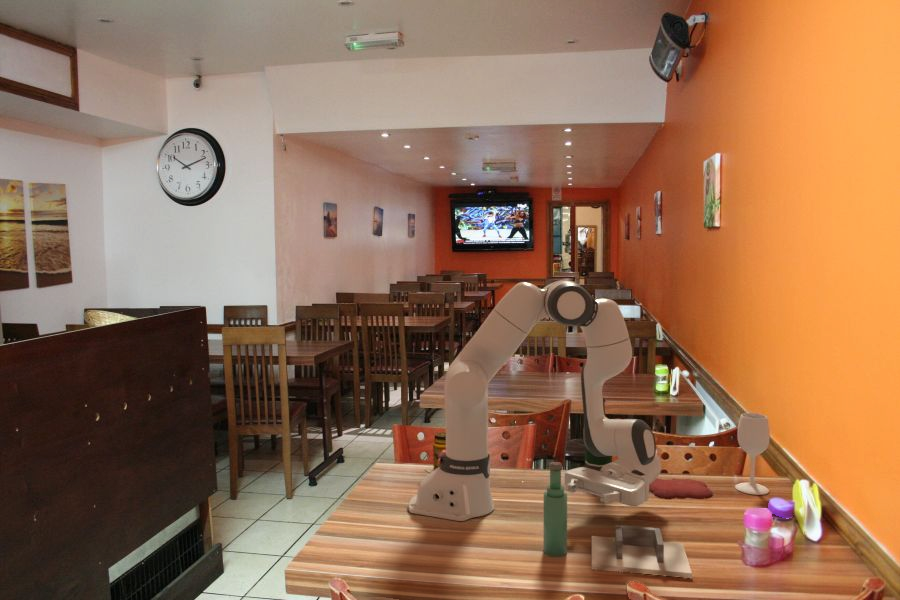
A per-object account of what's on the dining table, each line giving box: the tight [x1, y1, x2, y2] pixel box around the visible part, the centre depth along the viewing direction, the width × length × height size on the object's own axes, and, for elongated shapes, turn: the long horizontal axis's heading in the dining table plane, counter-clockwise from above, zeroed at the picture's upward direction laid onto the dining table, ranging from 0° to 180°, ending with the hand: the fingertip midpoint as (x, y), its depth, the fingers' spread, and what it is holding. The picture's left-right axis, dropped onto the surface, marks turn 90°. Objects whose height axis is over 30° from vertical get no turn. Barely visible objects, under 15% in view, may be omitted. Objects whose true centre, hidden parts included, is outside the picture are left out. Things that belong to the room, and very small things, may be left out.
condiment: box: [424, 432, 446, 474], centre depth 199 cm, size 7×8×12 cm
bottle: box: [542, 461, 568, 558], centre depth 145 cm, size 5×5×20 cm
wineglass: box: [734, 412, 771, 496], centre depth 182 cm, size 9×9×21 cm
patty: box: [649, 478, 714, 500], centre depth 183 cm, size 18×14×2 cm
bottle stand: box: [591, 524, 693, 580], centre depth 142 cm, size 20×14×5 cm
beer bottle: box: [584, 397, 613, 471], centre depth 192 cm, size 8×8×24 cm
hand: (585, 494), depth 153 cm, fingers open, 8 cm apart
